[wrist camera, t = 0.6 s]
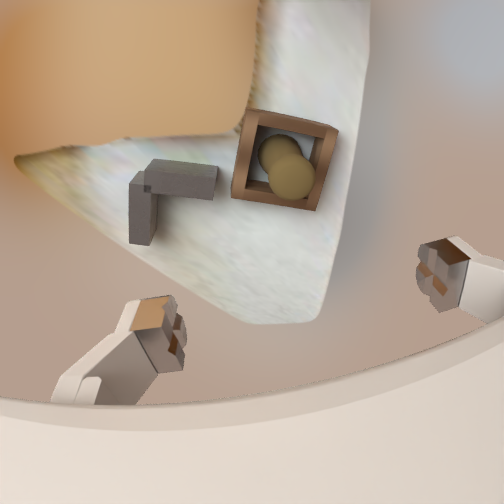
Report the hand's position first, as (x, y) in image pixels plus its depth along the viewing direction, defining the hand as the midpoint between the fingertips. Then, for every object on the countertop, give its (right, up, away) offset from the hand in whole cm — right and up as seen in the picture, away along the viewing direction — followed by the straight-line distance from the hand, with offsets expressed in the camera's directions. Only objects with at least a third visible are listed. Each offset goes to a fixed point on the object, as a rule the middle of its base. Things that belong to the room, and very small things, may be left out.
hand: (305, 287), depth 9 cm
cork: (+2, +14, +31) cm, 34 cm away
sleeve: (+2, +14, +31) cm, 34 cm away
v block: (-14, +10, +32) cm, 37 cm away
